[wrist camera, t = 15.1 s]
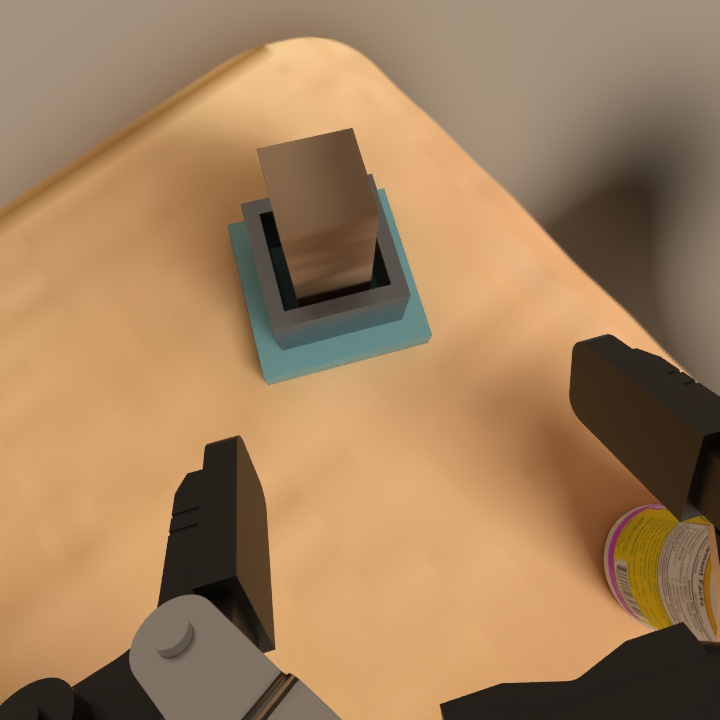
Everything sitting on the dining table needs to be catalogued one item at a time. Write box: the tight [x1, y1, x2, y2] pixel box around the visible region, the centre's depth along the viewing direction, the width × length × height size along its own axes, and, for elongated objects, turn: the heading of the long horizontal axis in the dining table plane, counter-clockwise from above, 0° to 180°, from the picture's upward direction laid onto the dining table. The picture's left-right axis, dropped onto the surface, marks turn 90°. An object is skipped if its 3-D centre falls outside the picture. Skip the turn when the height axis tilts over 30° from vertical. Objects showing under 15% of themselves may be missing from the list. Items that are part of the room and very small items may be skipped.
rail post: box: [257, 128, 379, 307], centre depth 24 cm, size 4×4×10 cm
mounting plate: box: [227, 188, 432, 385], centre depth 30 cm, size 10×10×2 cm
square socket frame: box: [241, 174, 411, 351], centre depth 27 cm, size 7×7×4 cm
